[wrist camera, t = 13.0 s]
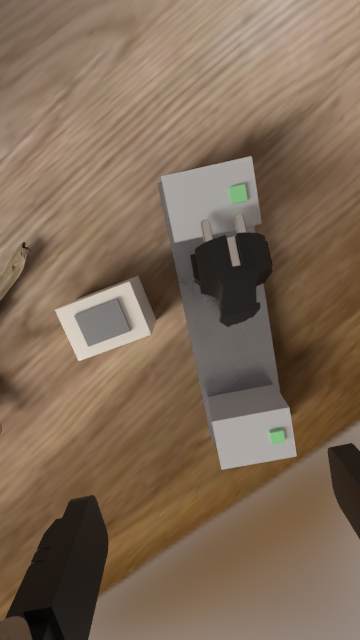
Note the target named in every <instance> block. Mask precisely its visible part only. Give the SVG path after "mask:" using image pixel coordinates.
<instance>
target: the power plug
mask: <svg viewBox="0 0 360 640" xmlns="http://www.w3.org/2000/svg"><path fill="white" fill-rule="evenodd" d="M234 223H235V228H236V232H237V233H236V236H235V237H229V238H227V236H226V235H224V236H220V237H217V238H214V239H213V234H212V229H211V224H210V221H209V220H208V219H203V220H202V221H201V222H200V226H201V231H202V237H203V242H204V243H203V244H201V245H200V246H198V247H197V248H195V254H192V255H190V259H191V265H192V270H193V276H194V281H195V283H196V284H198V285H199V286H200V291H201V294H205V295H209V296H212V297H214V298H216V299H217V300H218V301H219V310H220V318H219V321H220V323H222V324H223V325H225V326H226V327H230V326H231V325H234V324H239V323H241V322H244V321H247V320H248V319H249V318H252V317H254V316H255V314H256V313H257V312H258V311H259V310H260V302H257V300H256V298H257V297H256V287H257V286H259V285H261V284H263V283H265V281H266V280H267V278H268V277H269V275H270V274H271V272H272V261H271V256H270V252H269V248H268V243H267V241H266V240H265V236H263V235H261V234H258V233H251V232H247V229H246V224H245V219H244V215H243V214H242V213H236V214H235V215H234Z"/></svg>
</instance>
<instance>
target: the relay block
mask: <svg viewBox="0 0 360 640" xmlns="http://www.w3.org/2000/svg"><path fill="white" fill-rule="evenodd" d="M55 311H56V313H57V315H58V318H59V320H60V322H61V324H62V326H63V328H64V330H65V333H66V335H67V337H68V339H69V341H70V343H71V345H72V348H73V350H74V352H75V354H76V356H77V358H78V360H79V361H81V360H83V359H86V358H89V357H92V356H94V355H97V354H100V353H102V352H105V351H108V350H111V349H113V348H116V347H119V346H122V345H124V344H127V343H130V342H133V341H135V340H138V339H141V338H143V337H146V336H149V335H151V334H152V331H153V328H154V325H155V322H156V318H155V315H154V313H153V310H152V308H151V306H150V303H149V301H148V298H147V296H146V293H145V291H144V288H143V286H142V283H141V281H140V278H139V276H136V277H133V278H131V279H128V280H125V281H123V282H120V283H117V284H115V285H112V286H110V287H107V288H104V289H102V290H99V291H97V292H94V293H91V294H89V295H86V296H84V297H81V298H78V299H76V300H74V301H72V302H70V303H68V304H66V305H64V306H62V307H60V308H58V309H56V310H55Z"/></svg>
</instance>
